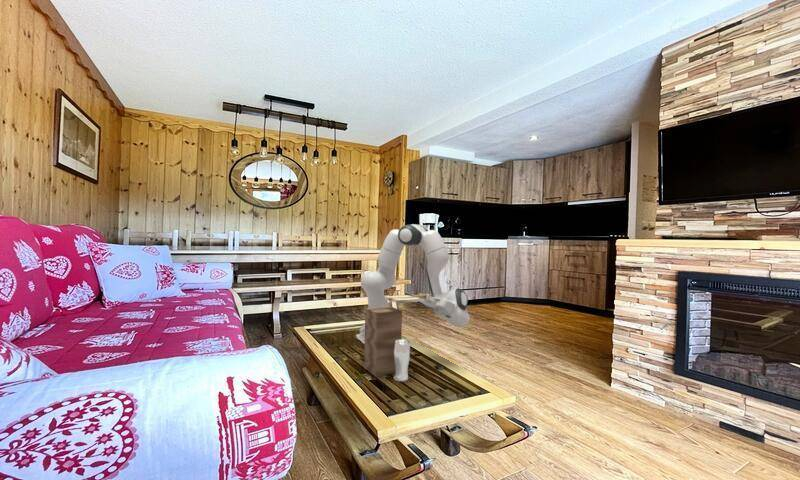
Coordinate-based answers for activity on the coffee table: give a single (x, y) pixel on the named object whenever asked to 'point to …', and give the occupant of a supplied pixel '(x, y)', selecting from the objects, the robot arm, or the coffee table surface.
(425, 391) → the coffee table surface
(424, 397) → the coffee table surface
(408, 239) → the robot arm
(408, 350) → the beer glass
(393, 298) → the beige t-shaped block
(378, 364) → the stand
